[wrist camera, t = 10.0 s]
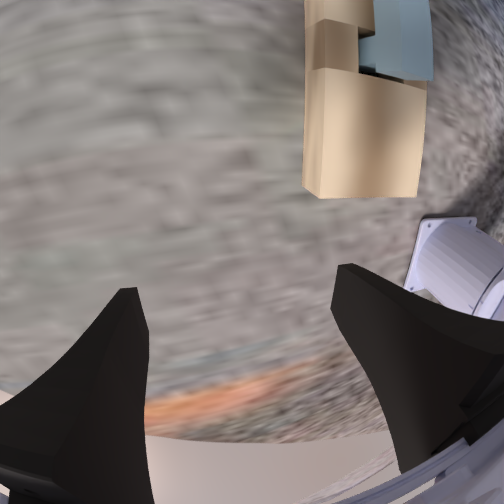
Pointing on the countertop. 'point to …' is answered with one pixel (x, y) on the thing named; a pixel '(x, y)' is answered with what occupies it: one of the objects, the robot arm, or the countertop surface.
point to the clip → (399, 41)
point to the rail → (356, 111)
